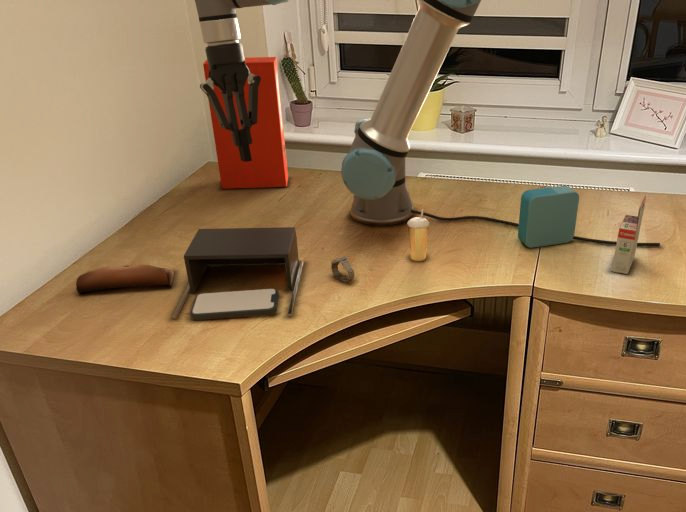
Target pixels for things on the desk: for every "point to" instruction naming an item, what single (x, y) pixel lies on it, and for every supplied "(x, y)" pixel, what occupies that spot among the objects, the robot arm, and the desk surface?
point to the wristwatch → (346, 265)
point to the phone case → (234, 304)
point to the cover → (241, 250)
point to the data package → (548, 216)
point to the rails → (290, 303)
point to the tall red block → (254, 134)
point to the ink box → (627, 241)
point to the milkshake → (418, 237)
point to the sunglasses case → (124, 277)
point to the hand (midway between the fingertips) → (246, 160)
